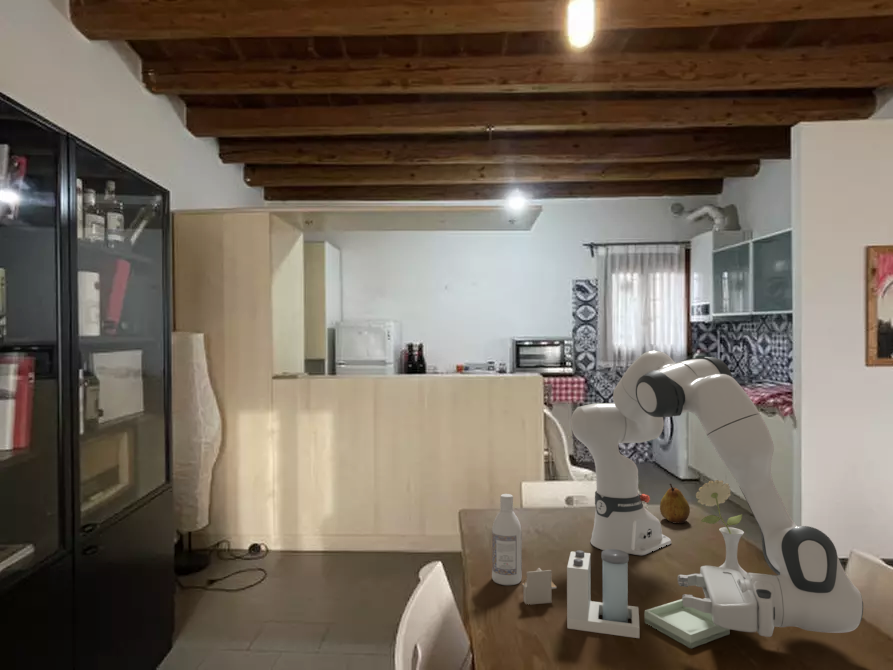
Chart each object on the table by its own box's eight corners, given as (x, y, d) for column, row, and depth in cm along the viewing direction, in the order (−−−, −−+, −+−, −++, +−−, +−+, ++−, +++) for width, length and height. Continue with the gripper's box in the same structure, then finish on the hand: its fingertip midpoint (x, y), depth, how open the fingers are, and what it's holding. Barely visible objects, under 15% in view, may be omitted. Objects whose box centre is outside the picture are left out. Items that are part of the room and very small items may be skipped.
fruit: (681, 516, 188) (681, 478, 188) (695, 525, 179) (695, 485, 179) (655, 516, 187) (655, 479, 187) (667, 525, 178) (667, 486, 178)
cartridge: (615, 615, 121) (615, 547, 121) (634, 626, 116) (634, 555, 116) (596, 621, 118) (595, 552, 118) (614, 632, 114) (614, 560, 114)
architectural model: (521, 600, 129) (521, 566, 129) (551, 597, 131) (551, 564, 131) (526, 607, 126) (526, 572, 126) (556, 604, 127) (556, 570, 127)
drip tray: (682, 610, 123) (682, 598, 123) (729, 634, 113) (729, 621, 113) (644, 622, 118) (644, 610, 118) (690, 648, 108) (690, 634, 108)
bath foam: (503, 571, 144) (502, 489, 144) (527, 579, 139) (527, 494, 139) (486, 580, 138) (486, 495, 138) (510, 588, 134) (510, 501, 134)
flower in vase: (755, 585, 135) (755, 476, 135) (764, 607, 125) (764, 489, 125) (694, 578, 140) (694, 472, 140) (698, 598, 129) (697, 484, 129)
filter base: (638, 616, 120) (638, 554, 120) (639, 638, 112) (639, 571, 112) (571, 608, 124) (570, 547, 124) (567, 628, 116) (567, 563, 116)
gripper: (748, 561, 120) (675, 554, 124) (772, 605, 100) (685, 595, 104) (748, 592, 120) (675, 584, 124) (772, 642, 100) (685, 630, 104)
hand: (680, 589), depth 114 cm, fingers open, 8 cm apart
